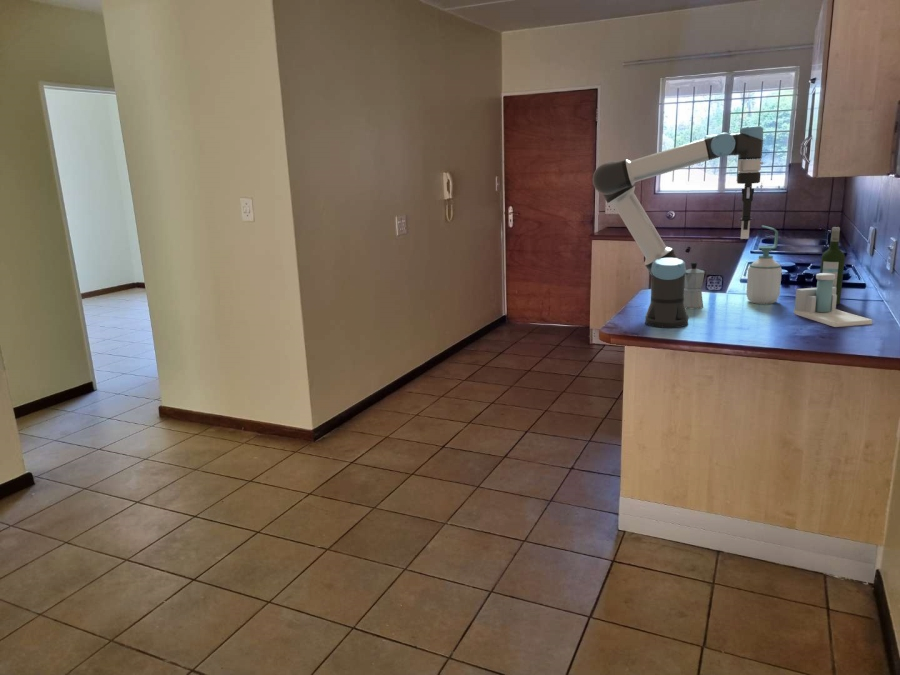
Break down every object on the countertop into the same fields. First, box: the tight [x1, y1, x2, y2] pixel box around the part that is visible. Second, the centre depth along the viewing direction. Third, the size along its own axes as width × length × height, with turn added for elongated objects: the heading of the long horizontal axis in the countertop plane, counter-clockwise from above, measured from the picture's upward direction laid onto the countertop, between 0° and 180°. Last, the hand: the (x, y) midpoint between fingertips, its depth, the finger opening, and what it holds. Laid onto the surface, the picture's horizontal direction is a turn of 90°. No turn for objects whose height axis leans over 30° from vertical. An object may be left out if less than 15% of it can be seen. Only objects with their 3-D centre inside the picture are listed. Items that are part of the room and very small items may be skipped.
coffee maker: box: [684, 262, 707, 309], centre depth 263 cm, size 15×9×18 cm, turn 129°
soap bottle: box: [746, 224, 783, 305], centre depth 262 cm, size 12×12×31 cm
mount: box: [793, 287, 873, 328], centre depth 234 cm, size 22×14×10 cm, turn 7°
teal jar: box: [815, 272, 835, 312], centre depth 237 cm, size 6×6×14 cm
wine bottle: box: [819, 226, 846, 306], centre depth 255 cm, size 8×8×30 cm
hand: (744, 238), depth 236 cm, fingers closed
